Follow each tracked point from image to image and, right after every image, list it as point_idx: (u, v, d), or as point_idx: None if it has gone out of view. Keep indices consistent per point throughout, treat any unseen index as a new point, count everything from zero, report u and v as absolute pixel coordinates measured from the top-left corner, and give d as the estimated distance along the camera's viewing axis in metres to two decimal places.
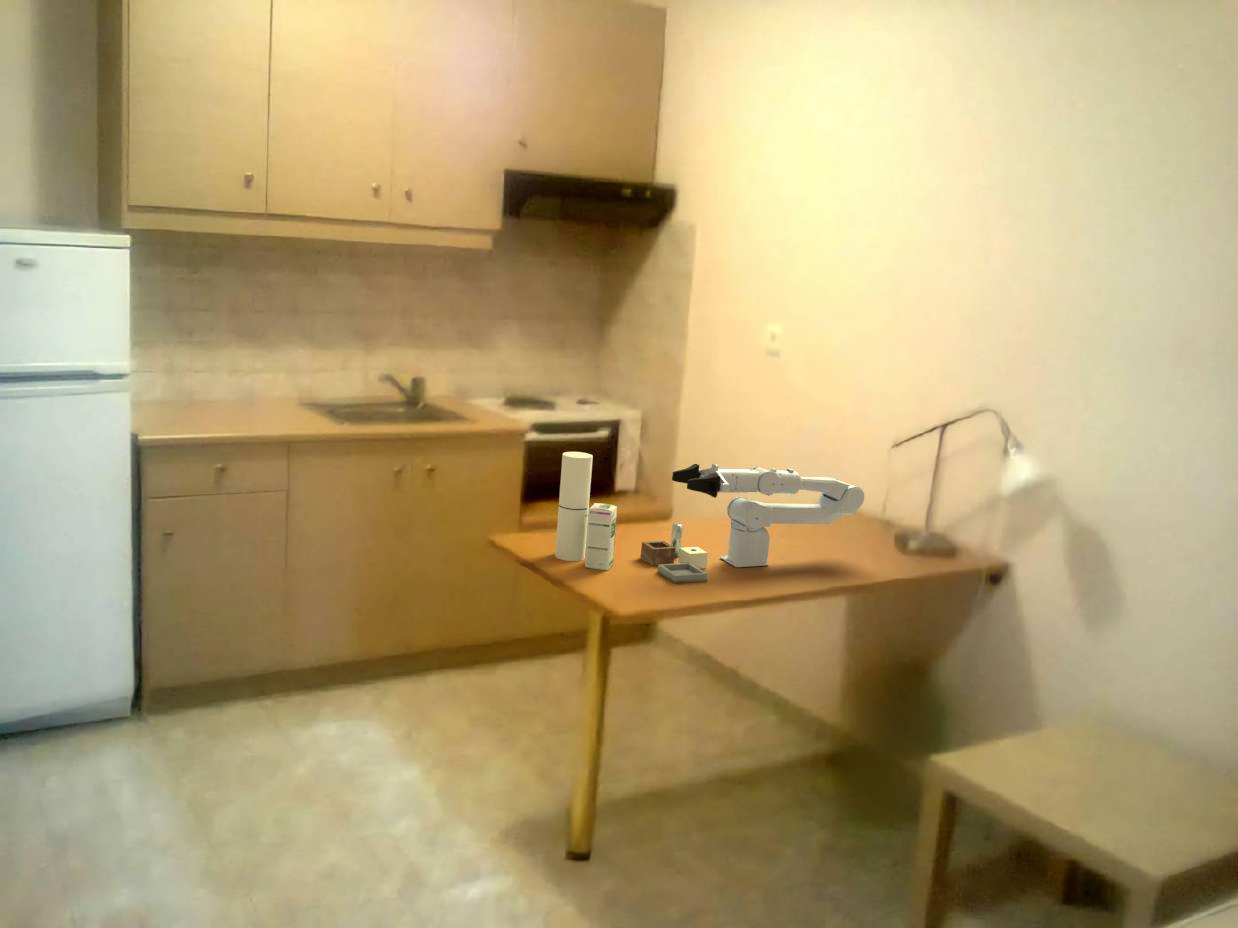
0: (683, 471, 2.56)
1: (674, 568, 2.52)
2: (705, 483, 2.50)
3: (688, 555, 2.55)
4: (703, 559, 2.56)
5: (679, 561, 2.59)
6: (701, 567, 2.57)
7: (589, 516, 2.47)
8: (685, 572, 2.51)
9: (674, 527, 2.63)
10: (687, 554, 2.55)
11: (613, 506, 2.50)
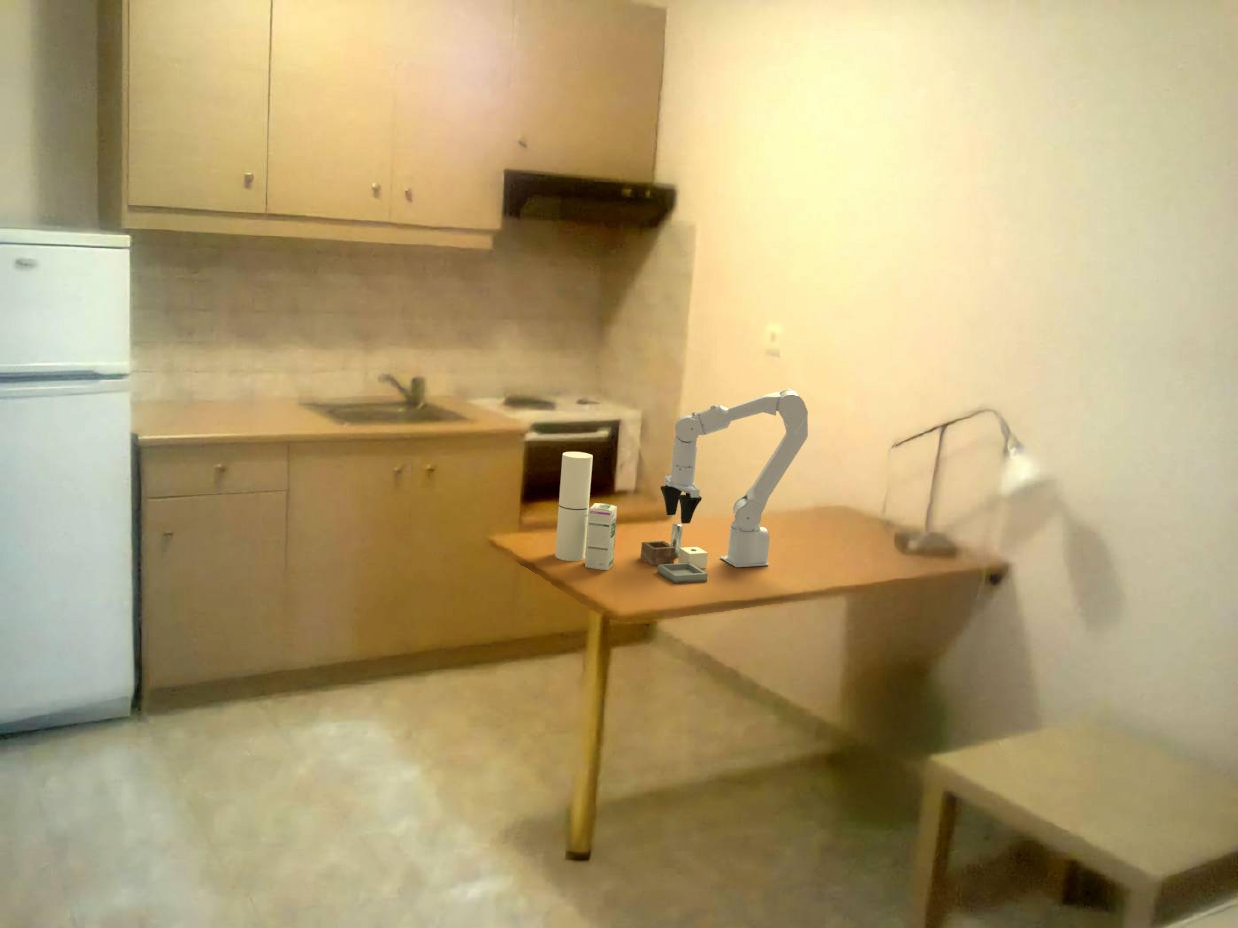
0: (667, 505, 2.66)
1: (674, 568, 2.52)
2: (686, 506, 2.59)
3: (688, 555, 2.55)
4: (703, 559, 2.56)
5: (679, 561, 2.59)
6: (701, 567, 2.57)
7: (589, 516, 2.47)
8: (685, 572, 2.51)
9: (674, 527, 2.63)
10: (687, 554, 2.55)
11: (613, 506, 2.50)
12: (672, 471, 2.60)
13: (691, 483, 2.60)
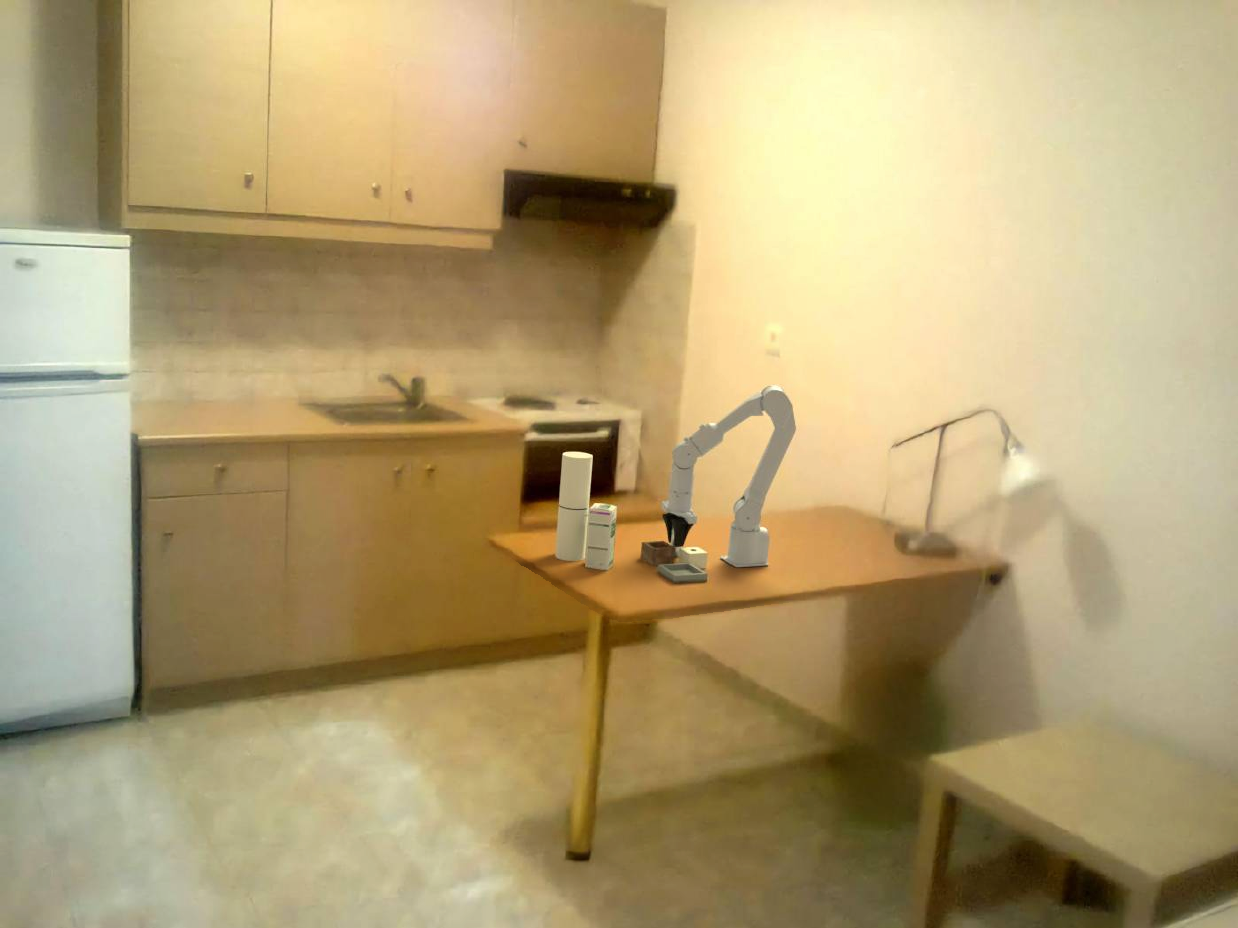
0: (669, 533, 2.65)
1: (674, 568, 2.52)
2: (680, 530, 2.62)
3: (688, 555, 2.55)
4: (703, 559, 2.56)
5: (679, 561, 2.59)
6: (701, 567, 2.57)
7: (589, 516, 2.47)
8: (685, 572, 2.51)
9: None
10: (687, 554, 2.55)
11: (613, 506, 2.50)
12: (670, 497, 2.61)
13: (688, 509, 2.61)
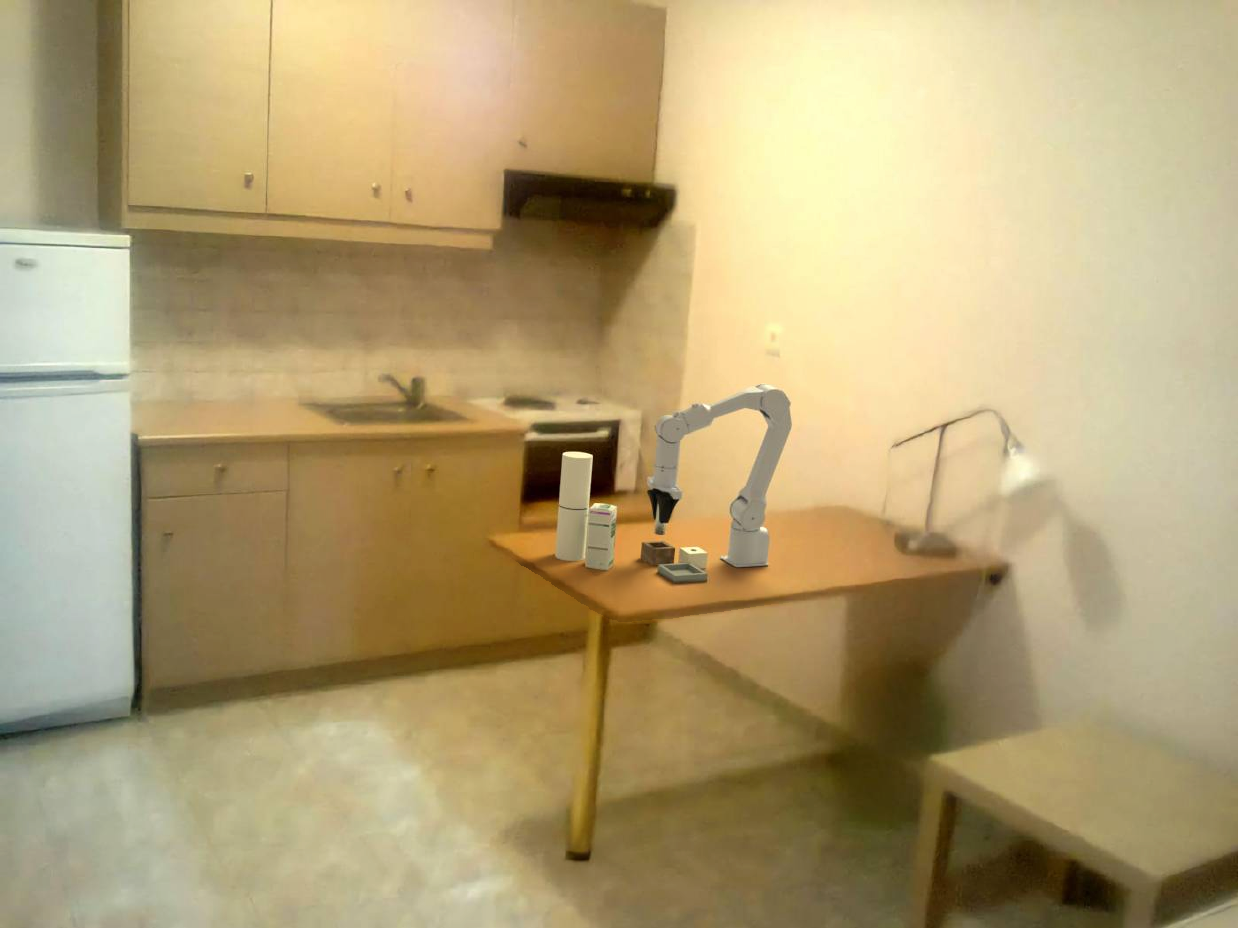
0: (654, 509, 2.58)
1: (674, 568, 2.52)
2: (665, 505, 2.55)
3: (688, 555, 2.55)
4: (703, 559, 2.56)
5: (679, 561, 2.59)
6: (701, 567, 2.57)
7: (589, 516, 2.47)
8: (685, 572, 2.51)
9: None
10: (687, 554, 2.55)
11: (613, 506, 2.50)
12: (654, 472, 2.54)
13: (674, 484, 2.54)
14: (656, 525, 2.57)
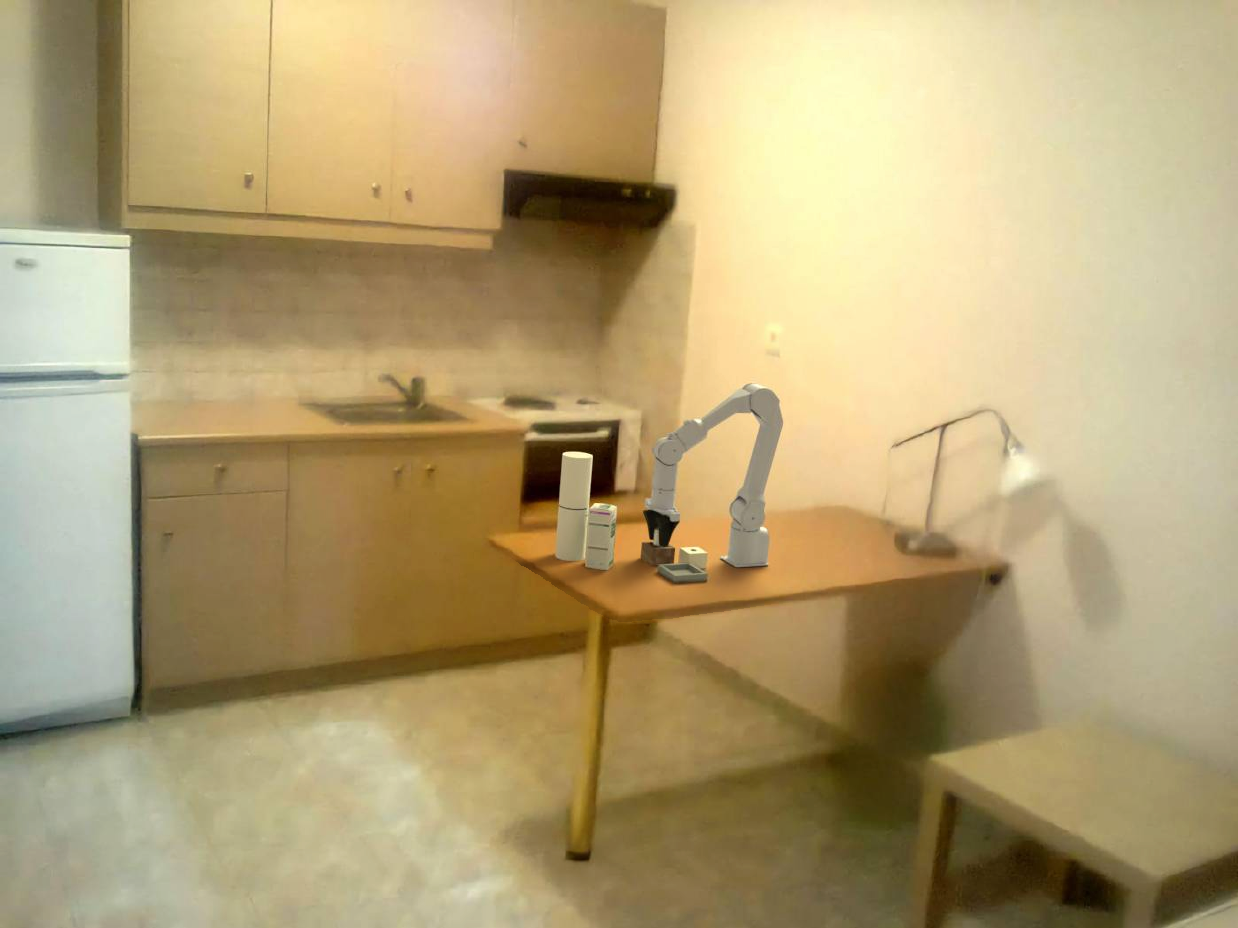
0: (650, 529, 2.60)
1: (674, 568, 2.52)
2: (664, 528, 2.55)
3: (688, 555, 2.55)
4: (703, 559, 2.56)
5: (679, 561, 2.59)
6: (701, 567, 2.57)
7: (589, 516, 2.47)
8: (685, 572, 2.51)
9: (656, 532, 2.57)
10: (687, 554, 2.55)
11: (613, 506, 2.50)
12: (652, 494, 2.55)
13: (671, 506, 2.55)
14: None
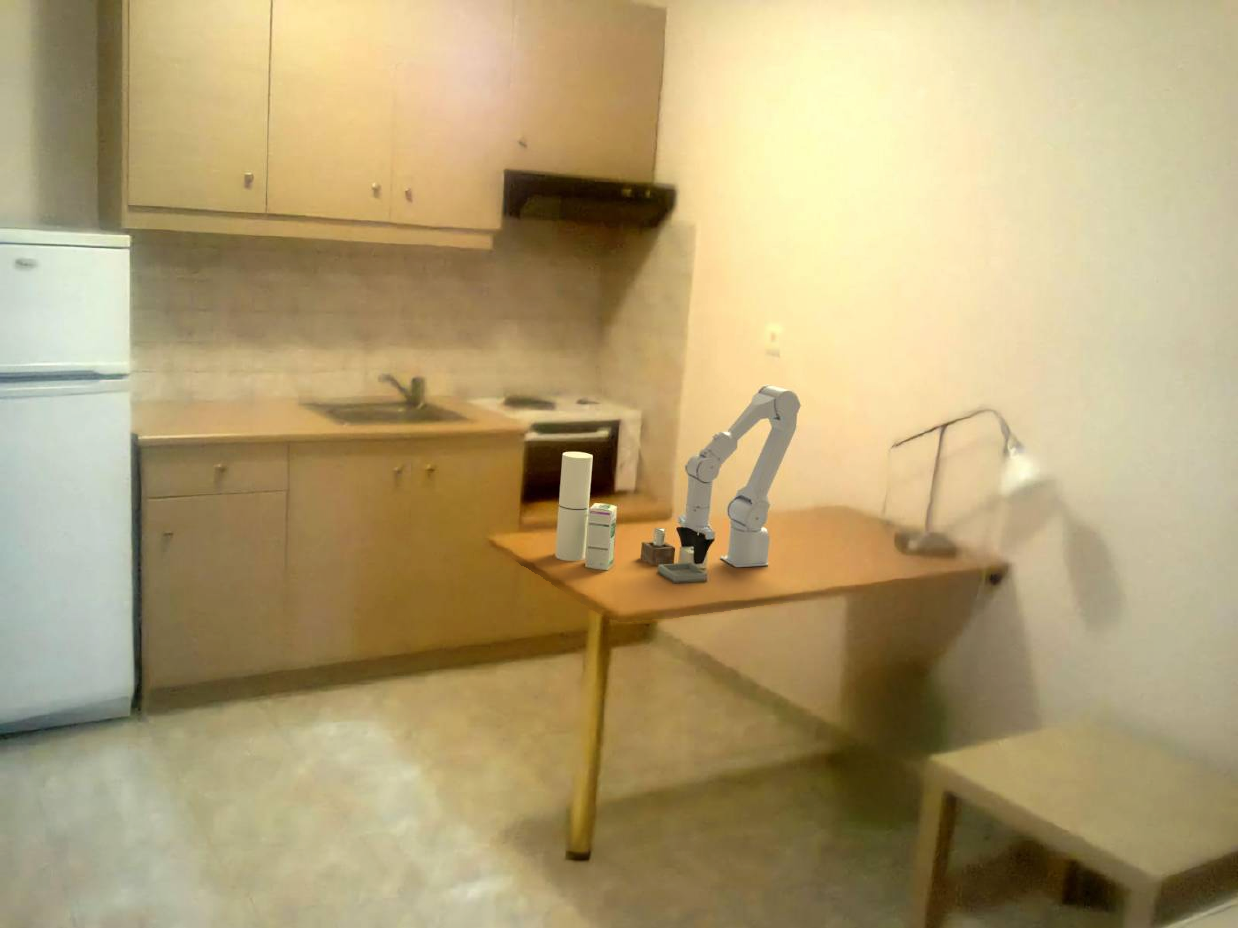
0: (683, 546, 2.59)
1: (674, 568, 2.52)
2: (699, 546, 2.54)
3: (688, 554, 2.55)
4: None
5: (679, 560, 2.59)
6: (701, 566, 2.57)
7: (589, 516, 2.47)
8: (685, 572, 2.51)
9: (656, 531, 2.57)
10: (687, 554, 2.55)
11: (613, 506, 2.50)
12: (687, 512, 2.55)
13: (706, 524, 2.55)
14: None
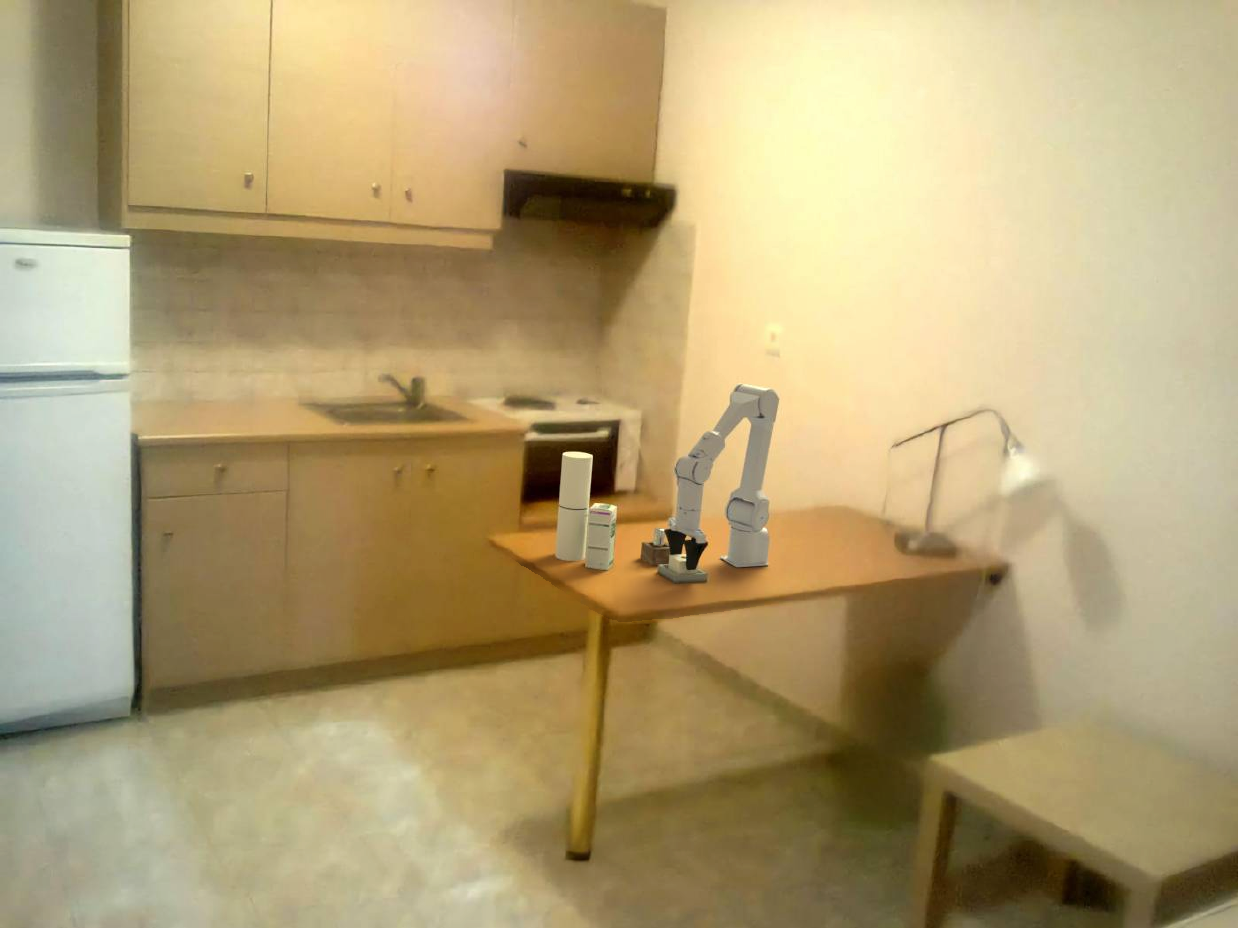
0: (672, 549, 2.51)
1: None
2: (692, 552, 2.44)
3: (678, 563, 2.46)
4: None
5: (669, 569, 2.50)
6: None
7: (589, 516, 2.47)
8: None
9: (656, 532, 2.57)
10: (677, 562, 2.46)
11: (613, 506, 2.50)
12: (677, 514, 2.45)
13: (697, 527, 2.45)
14: None
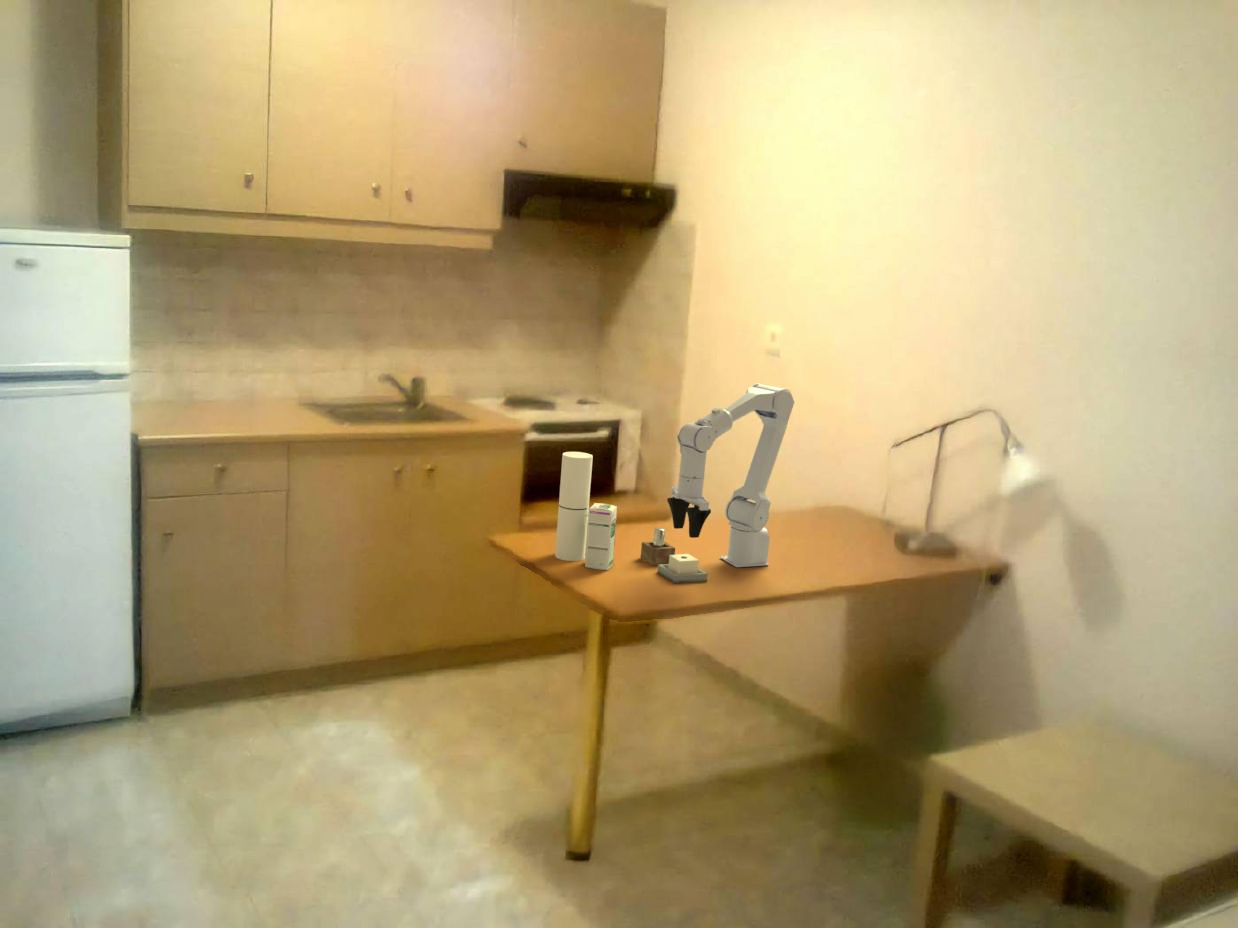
0: (675, 518, 2.52)
1: None
2: (695, 519, 2.45)
3: (678, 563, 2.46)
4: (694, 567, 2.47)
5: (669, 569, 2.50)
6: None
7: (589, 516, 2.47)
8: None
9: (656, 531, 2.57)
10: (677, 562, 2.46)
11: (613, 506, 2.50)
12: (680, 482, 2.46)
13: (700, 495, 2.46)
14: None
